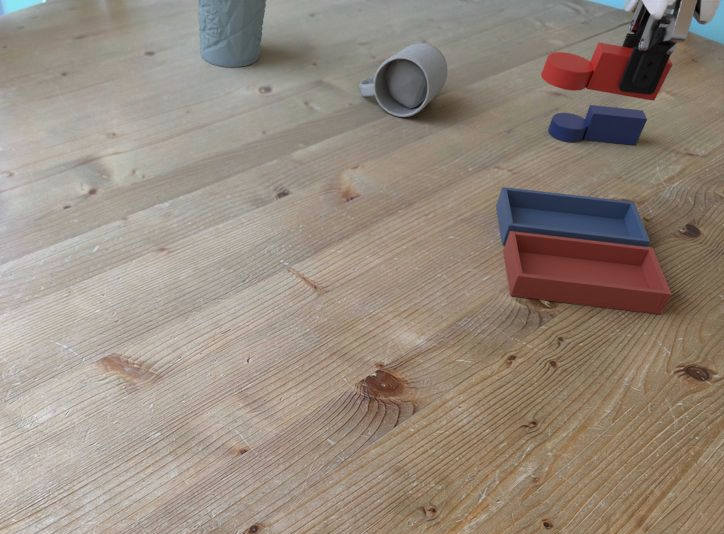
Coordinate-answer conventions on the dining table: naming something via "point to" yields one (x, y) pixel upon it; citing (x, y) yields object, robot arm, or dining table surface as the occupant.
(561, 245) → the red bin
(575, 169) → the dining table surface
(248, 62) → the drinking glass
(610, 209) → the blue bin
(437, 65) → the ceramic mug
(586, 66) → the red cylinder-cube piece
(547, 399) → the dining table surface
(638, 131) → the blue cylinder-cube block
